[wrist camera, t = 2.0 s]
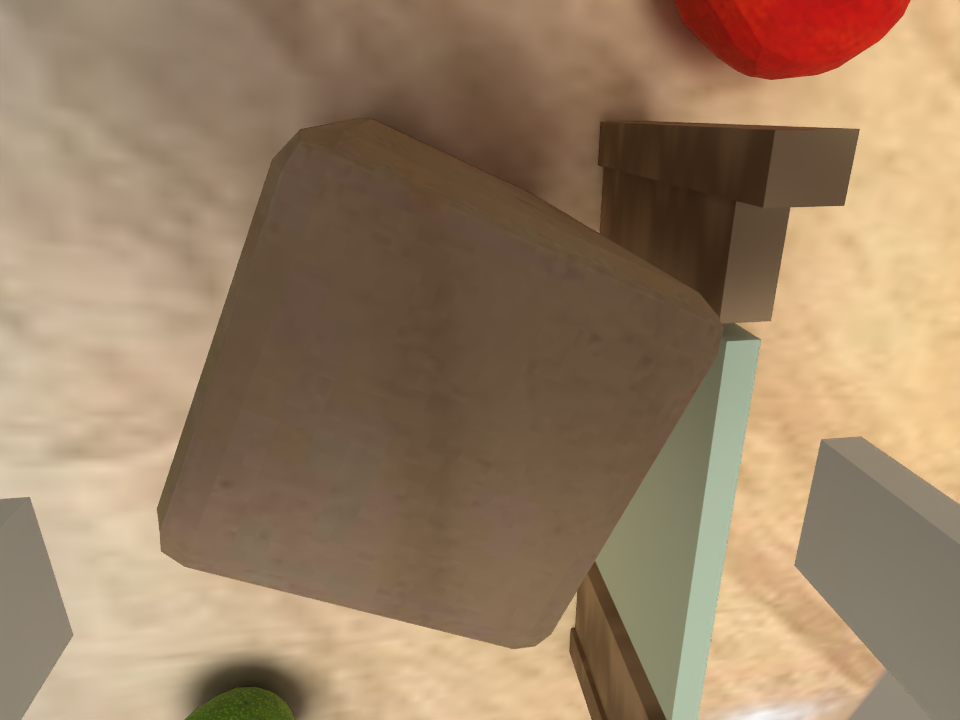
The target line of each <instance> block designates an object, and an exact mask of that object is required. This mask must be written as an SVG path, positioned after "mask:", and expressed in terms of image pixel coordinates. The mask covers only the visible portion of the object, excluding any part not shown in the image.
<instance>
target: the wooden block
mask: <svg viewBox="0 0 960 720" xmlns="http://www.w3.org/2000/svg"><path fill="white" fill-rule="evenodd" d="M722 333H723V326H722V323H721V321H720V319H719V317H718V315H717V314H716V313H715V312H714V310H713V309H712V308H711V307H710V305H709V304H708V303H707V302H706V300H705V299H704V298H703V297H702V296H701V294H700V293H699V292H697V291H695V290H694V289H692V288H690V287H689V286H687V285H685V284H684V283H682V282H680V281H678V280H677V279H675V278H673V277H672V276H670V275H668V274H667V273H665V272H663V271H662V270H660V269H658V268H657V267H655V266H653V265H651V264H650V263H648V262H646V261H645V260H643V259H641V258H640V257H638V256H636V255H635V254H633V253H631V252H629V251H628V250H626V249H624V248H623V247H621V246H619V245H618V244H616V243H614V242H613V241H611V240H609V239H608V238H606V237H604V236H602V235H601V234H599V233H597V232H596V231H594V230H592V229H591V228H589V227H587V226H586V225H584V224H582V223H581V222H579V221H577V220H575V219H574V218H572V217H570V216H569V215H567V214H565V213H564V212H562V211H560V210H559V209H557V208H555V207H554V206H552V205H550V204H548V203H547V202H545V201H543V200H542V199H540V198H538V197H537V196H535V195H533V194H532V193H530V192H528V191H525V190H523V189H521V188H519V187H517V186H515V185H513V184H510V183H508V182H506V181H504V180H502V179H500V178H498V177H495V176H493V175H491V174H489V173H487V172H485V171H483V170H480V169H478V168H476V167H474V166H472V165H470V164H467V163H465V162H463V161H461V160H459V159H457V158H455V157H452V156H450V155H448V154H446V153H444V152H442V151H440V150H437V149H435V148H433V147H431V146H429V145H427V144H425V143H422V142H420V141H418V140H416V139H414V138H412V137H410V136H407V135H405V134H403V133H401V132H399V131H397V130H395V129H392V128H390V127H388V126H386V125H384V124H382V123H380V122H377V121H375V120H373V119H352V120H347V121H341V122H336V123H331V124H326V125H321V126H315V127H310V128H305V129H300V130H299V132H298V133H297V134H296V135H295V136H294V137H293V138H292V139H291V140H290V141H289V142H288V143H287V144H286V146H285V147H284V148H283V149H282V150H281V151H280V152H279V153H278V154H277V155H276V156H275V157H274V158H273V160H272V162H271V165H270V168H269V171H268V174H267V177H266V180H265V183H264V186H263V189H262V192H261V195H260V198H259V201H258V204H257V207H256V210H255V213H254V216H253V219H252V223H251V226H250V229H249V232H248V235H247V238H246V241H245V244H244V247H243V250H242V253H241V256H240V259H239V262H238V265H237V268H236V271H235V274H234V277H233V280H232V283H231V286H230V289H229V292H228V295H227V298H226V301H225V304H224V307H223V310H222V313H221V316H220V319H219V322H218V325H217V329H216V332H215V335H214V338H213V341H212V344H211V347H210V350H209V353H208V356H207V359H206V362H205V365H204V368H203V371H202V374H201V377H200V380H199V383H198V386H197V389H196V392H195V395H194V398H193V401H192V404H191V407H190V410H189V413H188V416H187V419H186V422H185V425H184V428H183V431H182V435H181V438H180V441H179V444H178V447H177V450H176V453H175V456H174V459H173V462H172V465H171V468H170V471H169V474H168V477H167V480H166V483H165V486H164V489H163V492H162V495H161V498H160V501H159V504H158V507H157V513H158V521H159V530H160V544H161V552H163V553H164V554H166V555H167V556H169V557H171V558H172V559H174V560H175V561H177V562H178V563H180V564H181V565H183V566H184V567H188V568H192V569H196V570H200V571H204V572H208V573H212V574H216V575H220V576H224V577H228V578H232V579H236V580H240V581H244V582H248V583H252V584H256V585H260V586H264V587H268V588H272V589H276V590H280V591H284V592H288V593H292V594H296V595H300V596H304V597H308V598H312V599H316V600H320V601H324V602H328V603H332V604H336V605H340V606H344V607H348V608H352V609H356V610H360V611H364V612H368V613H372V614H376V615H380V616H384V617H388V618H392V619H396V620H400V621H403V622H407V623H411V624H415V625H419V626H423V627H427V628H431V629H435V630H439V631H443V632H447V633H451V634H455V635H459V636H463V637H467V638H471V639H475V640H479V641H483V642H487V643H491V644H495V645H499V646H503V647H507V648H511V649H518V648H525V647H533V646H536V645H537V644H539V643H540V642H541V641H543V640H544V639H545V638H547V637H548V636H549V635H551V633H552V632H553V630H554V628H555V627H556V625H557V623H558V622H559V620H560V618H561V617H562V615H563V613H564V612H565V610H566V608H567V607H568V605H569V603H570V602H571V600H572V598H573V597H574V595H575V593H576V592H577V590H578V588H579V587H580V585H581V583H582V582H583V580H584V578H585V577H586V575H587V573H588V571H589V570H590V568H591V566H592V565H593V563H594V561H595V560H596V558H597V556H598V555H599V553H600V551H601V550H602V548H603V546H604V545H605V543H606V541H607V540H608V538H609V536H610V535H611V533H612V531H613V530H614V528H615V526H616V525H617V523H618V521H619V520H620V518H621V516H622V515H623V513H624V511H625V510H626V508H627V506H628V505H629V503H630V501H631V500H632V498H633V496H634V495H635V493H636V491H637V490H638V488H639V486H640V484H641V483H642V481H643V479H644V478H645V476H646V474H647V473H648V471H649V469H650V468H651V466H652V464H653V463H654V461H655V459H656V458H657V456H658V454H659V453H660V451H661V449H662V448H663V446H664V444H665V443H666V441H667V439H668V438H669V436H670V434H671V433H672V431H673V429H674V428H675V426H676V424H677V423H678V421H679V419H680V418H681V416H682V414H683V413H684V411H685V409H686V408H687V406H688V404H689V403H690V401H691V399H692V398H693V396H694V394H695V392H696V391H697V389H698V387H699V386H700V384H701V382H702V381H703V379H704V377H705V376H706V374H707V372H708V371H709V369H710V367H711V366H712V364H713V362H714V361H715V359H716V357H717V355H718V351H719V346H720V342H721V337H722Z"/></svg>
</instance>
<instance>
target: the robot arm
mask: <svg viewBox="0 0 960 720" xmlns="http://www.w3.org/2000/svg"><path fill="white" fill-rule="evenodd" d="M795 567H796V568H797V569H798V570H799V571H800V572H801V573H802V574H803V576H804V577H805V578H806V579H807V580H808V581H809V582H810V583H811V585H812V586H813V587H814V588H815V589H816V590H817V591H818V592H819V594H820V595H821V596H822V597H823V598H824V599H825V600H826V601H827V603H828V604H829V605H830V606H831V607H832V608H833V609H834V610H835V612H836V613H837V614H838V615H839V616H840V617H841V618H842V619H843V621H844V622H845V623H846V624H847V625H848V626H849V627H850V628H851V630H852V631H853V632H854V633H855V634H856V635H857V636H858V637H859V639H860V640H861V641H862V642H863V643H864V644H865V645H866V646H867V648H868V649H869V650H870V651H871V652H872V653H873V654H874V655H875V657H876V658H877V659H878V660H879V661H880V662H881V663H882V664H883V666H884V667H885V668H886V669H887V670H888V671H889V672H890V673H891V675H892V676H893V677H894V678H895V679H896V680H897V681H898V682H899V684H900V685H901V686H902V687H903V688H904V689H905V690H906V691H907V693H908V694H909V695H910V696H911V697H912V698H913V699H914V700H915V701H916V703H917V704H918V705H919V706H920V707H921V708H922V709H923V711H924V712H925V713H926V714H927V715H928V716H929V717H930V718H931V719H932V720H960V504H958V503H957V502H955V501H954V500H952V499H951V498H950V497H948V496H947V495H945V494H944V493H942V492H941V491H939V490H938V489H936V488H935V487H934V486H932V485H931V484H929V483H928V482H926V481H925V480H923V479H922V478H920V477H919V476H918V475H916V474H915V473H913V472H912V471H910V470H909V469H907V468H906V467H904V466H903V465H902V464H900V463H899V462H897V461H896V460H894V459H893V458H891V457H890V456H889V455H887V454H886V453H884V452H883V451H881V450H880V449H878V448H877V447H875V446H874V445H873V444H871V443H870V442H868V441H867V440H865V439H864V438H862V437H848V438H834V439H821V443H820V448H819V452H818V457H817V462H816V466H815V471H814V476H813V480H812V485H811V490H810V494H809V499H808V504H807V508H806V513H805V518H804V522H803V527H802V532H801V537H800V541H799V546H798V551H797V555H796V560H795ZM72 636H73V632H72V629H71V626H70V623H69V620H68V617H67V613H66V610H65V607H64V604H63V601H62V598H61V594H60V591H59V588H58V585H57V582H56V579H55V575H54V572H53V569H52V566H51V563H50V560H49V556H48V553H47V550H46V547H45V544H44V541H43V537H42V534H41V531H40V528H39V525H38V522H37V518H36V515H35V512H34V509H33V506H32V503H31V499H30V497H24V498H10V499H0V720H21V719H22V717H23V716H24V714H25V712H26V711H27V709H28V708H29V706H30V704H31V703H32V701H33V699H34V698H35V696H36V695H37V693H38V691H39V690H40V688H41V687H42V685H43V683H44V682H45V680H46V678H47V677H48V675H49V674H50V672H51V670H52V669H53V667H54V666H55V664H56V662H57V661H58V659H59V657H60V656H61V654H62V653H63V651H64V649H65V648H66V646H67V645H68V643H69V641H70V640H71V638H72Z"/></svg>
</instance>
